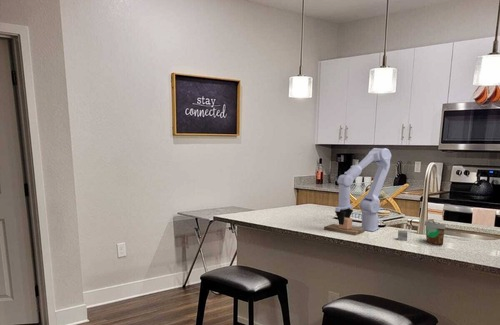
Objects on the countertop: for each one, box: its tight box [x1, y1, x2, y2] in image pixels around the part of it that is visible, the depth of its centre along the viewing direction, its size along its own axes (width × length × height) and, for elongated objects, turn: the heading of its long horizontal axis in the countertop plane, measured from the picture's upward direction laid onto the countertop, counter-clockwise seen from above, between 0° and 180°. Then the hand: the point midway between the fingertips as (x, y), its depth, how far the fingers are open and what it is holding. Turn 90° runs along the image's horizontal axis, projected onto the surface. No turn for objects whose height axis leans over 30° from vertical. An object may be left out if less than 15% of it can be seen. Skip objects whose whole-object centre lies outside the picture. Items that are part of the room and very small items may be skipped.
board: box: [323, 223, 365, 236], centre depth 199 cm, size 10×18×2 cm, turn 49°
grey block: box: [397, 229, 408, 242], centre depth 183 cm, size 4×4×4 cm
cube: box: [338, 217, 353, 229], centre depth 198 cm, size 5×5×5 cm
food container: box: [423, 218, 446, 246], centre depth 178 cm, size 12×6×10 cm, turn 178°
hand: (343, 223), depth 199 cm, fingers closed on cube, 5 cm apart
